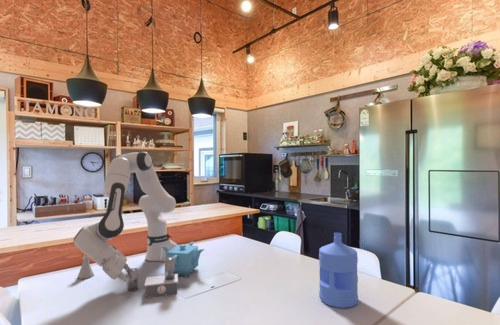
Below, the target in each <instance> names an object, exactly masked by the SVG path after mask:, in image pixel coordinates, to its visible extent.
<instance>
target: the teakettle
mask: <svg viewBox="0 0 500 325" xmlns="http://www.w3.org/2000/svg"><path fill="white" fill-rule="evenodd" d="M193 244H194V241H190V242H189V245H187V244H177V246H176V247H174V248H172V249H171V250H168V248H166V247H161V248H163V249H164V250H165V252H166V258H168V257H174V258H175V274H178V275H182V276H183V277H186V278H187V277H189V276H190V274H191V273H192V272H194V271H195V269H197V267H199V259H200V256H201V254H202V253H203V252H204V251H205V250H206V249H205V248H202V249H199V246H198V245H193Z"/></svg>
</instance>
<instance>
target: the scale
mask: <svg viewBox="0 0 500 325" xmlns="http://www.w3.org/2000/svg"><path fill="white" fill-rule="evenodd" d="M178 283H179V274H175V279H173V280H165V274H163V275H155V276H147V277H145V281H144V287H145V298H151V297H152V298H154V297H161V296H168V295H169V296H170V295H177V294H178Z"/></svg>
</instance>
